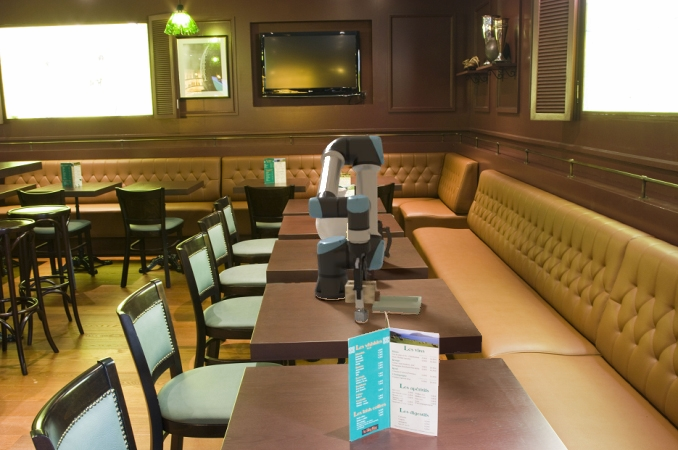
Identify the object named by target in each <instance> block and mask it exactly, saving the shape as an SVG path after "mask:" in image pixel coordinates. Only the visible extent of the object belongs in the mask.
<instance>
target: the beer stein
mask: <svg viewBox="0 0 678 450" xmlns="http://www.w3.org/2000/svg"><path fill="white" fill-rule="evenodd" d="M383 226H384V224H383V221H382V220H379V219H378V233H379V234H380V235H381V240H384V233H386V239H387V241H386V245H385V252H384V257H386V258H387V259H389V258H390V257H391V254H390V249H391V247H392V243H393V237H392V234H391V230H390V228H391V227H390V226H385V227H383ZM383 261H384V262H385V258H384V259H383Z"/></svg>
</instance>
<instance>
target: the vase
mask: <svg viewBox="0 0 678 450" xmlns="http://www.w3.org/2000/svg"><path fill="white" fill-rule="evenodd" d="M347 190H348V189H347V188H345V187H339V188H338V195H337V197H346V194H347ZM347 223H348V218H322V219H320V218H315V228H316V232H317V235H318V236H319V238H320V239H321V240H322V239H325V238H328V237H333V236H345V237H346V238H347V233H346V231H347Z"/></svg>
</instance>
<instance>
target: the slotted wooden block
mask: <svg viewBox="0 0 678 450" xmlns="http://www.w3.org/2000/svg"><path fill="white" fill-rule="evenodd" d="M362 288H363V301H364V304H373V303H374V302H375V301H380V295H381V291H380V290H377V281H376V280H368V281H363V282H362ZM353 289H354V279H353V280H350V279H349V280H348V282H347V283H346V285H345V299H344V301H345V303H346V304H347V303H351V304H356V303H355V290H353Z"/></svg>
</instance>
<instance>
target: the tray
mask: <svg viewBox="0 0 678 450" xmlns="http://www.w3.org/2000/svg"><path fill="white" fill-rule="evenodd" d="M422 300H423V299H422V296H417V295H415V296H414V295H387V294H386V295H381V294H380V301H375V302H374V303H372V306H371V312H372V311H380V312H384V311H386V312H388V311H390V312H403V313H416V314H419V315H420V313H419V312H421V308H422V304H421V303H422ZM420 307H421V308H420ZM383 315H389V314H388V313H387V314H385V313H384V314H383Z"/></svg>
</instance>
